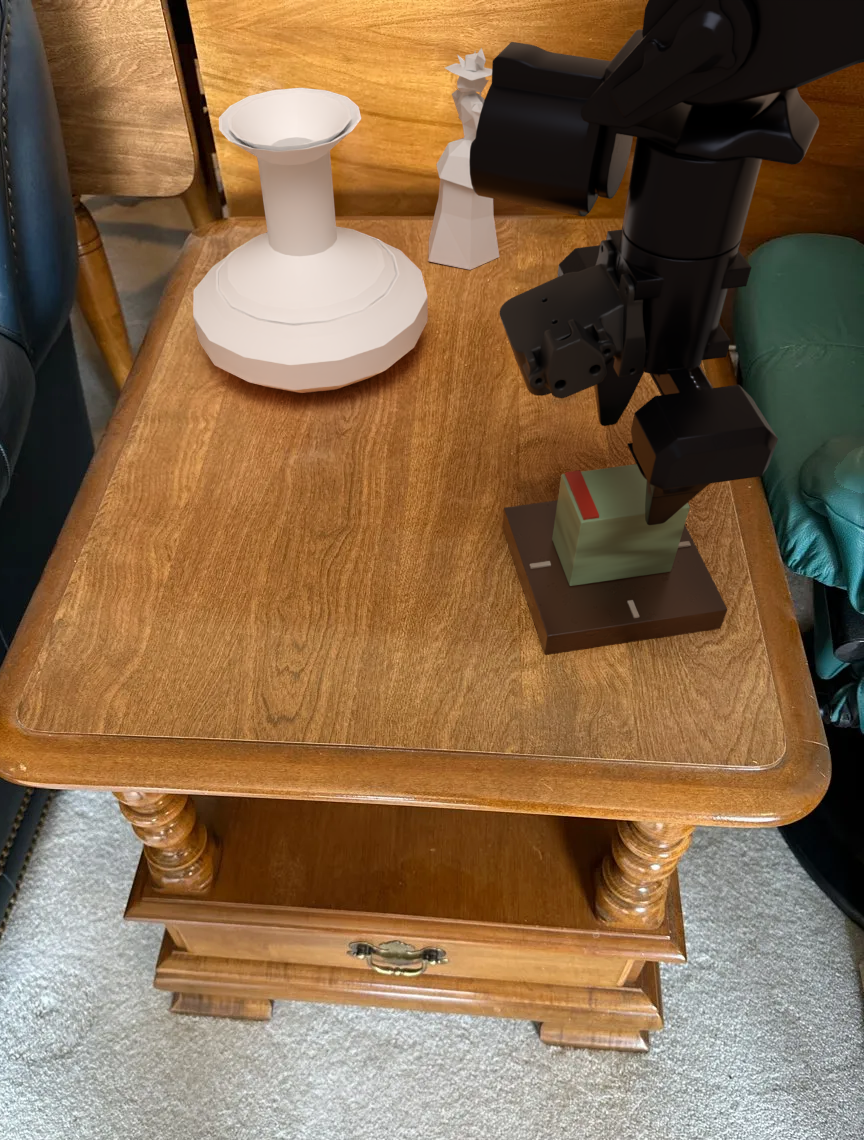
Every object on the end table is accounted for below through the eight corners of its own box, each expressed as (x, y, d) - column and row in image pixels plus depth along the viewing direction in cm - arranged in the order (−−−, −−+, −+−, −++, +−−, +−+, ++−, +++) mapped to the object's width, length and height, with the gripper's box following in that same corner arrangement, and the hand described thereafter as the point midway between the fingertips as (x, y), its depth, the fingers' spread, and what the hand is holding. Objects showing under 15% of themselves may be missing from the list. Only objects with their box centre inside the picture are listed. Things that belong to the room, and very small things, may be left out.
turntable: (660, 504, 71) (666, 483, 69) (720, 628, 63) (728, 607, 62) (501, 527, 70) (503, 505, 68) (544, 655, 62) (547, 634, 61)
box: (649, 525, 67) (666, 456, 62) (671, 572, 64) (691, 504, 59) (551, 538, 66) (561, 470, 61) (569, 586, 63) (581, 519, 58)
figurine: (516, 248, 93) (532, 44, 79) (453, 278, 90) (458, 72, 76) (469, 221, 97) (477, 20, 83) (407, 248, 94) (403, 46, 80)
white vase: (418, 423, 77) (415, 187, 62) (178, 414, 79) (119, 183, 64) (435, 286, 90) (436, 61, 75) (227, 281, 92) (187, 61, 76)
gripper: (479, 160, 52) (470, 395, 64) (574, 363, 40) (541, 602, 53) (676, 137, 53) (630, 374, 65) (825, 330, 41) (735, 573, 53)
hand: (630, 470), depth 59 cm, fingers open, 9 cm apart
